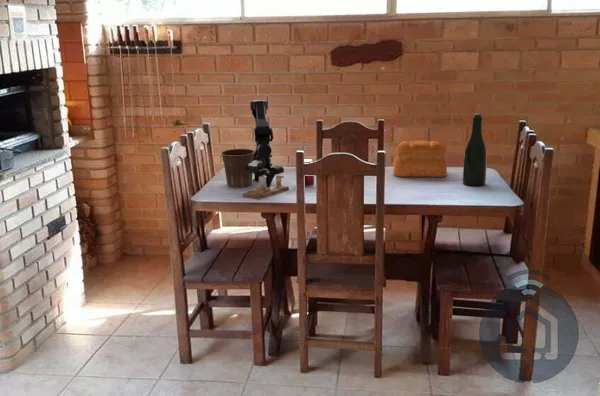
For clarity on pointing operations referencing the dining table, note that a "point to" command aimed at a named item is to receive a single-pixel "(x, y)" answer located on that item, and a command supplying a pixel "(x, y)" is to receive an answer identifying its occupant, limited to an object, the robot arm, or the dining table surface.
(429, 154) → the bread
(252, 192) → the board
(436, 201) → the dining table surface
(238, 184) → the plant pot
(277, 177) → the keeper hook
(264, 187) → the grey metal piece
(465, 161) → the green wine bottle
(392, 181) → the dining table surface
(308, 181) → the soda can
